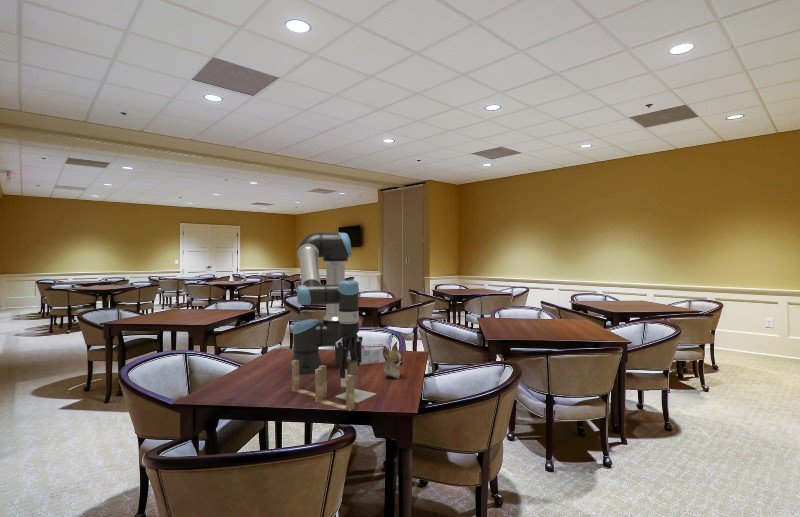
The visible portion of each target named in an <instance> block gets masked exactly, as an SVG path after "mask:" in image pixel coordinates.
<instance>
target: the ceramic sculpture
mask: <svg viewBox="0 0 800 517" xmlns="http://www.w3.org/2000/svg"><path fill="white" fill-rule="evenodd" d="M383 356H384V358H385V363H384V364H385V368H384V369H383V373H384V374H386V375H388V376H389V377H391V378H394V379H398V380H399V379H400V376H401V375H400V374H401V373H400V369H401V368H402V367H403V362H402V360H403V359H402V354H401V353H400V352H399V349H398V341H395V342H394V344H393V345H392V347H391V350H390V349H389V348H388V347H387V346H386V345H384V349H383Z"/></svg>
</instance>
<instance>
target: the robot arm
mask: <svg viewBox="0 0 800 517" xmlns="http://www.w3.org/2000/svg"><path fill="white" fill-rule="evenodd" d="M296 248H297V249H296V256H297V258H298V260H299V266H300V268H299V269H300V281H301V282H300V284H301V285H298V286H297V287H296V299H297V300H296V302H297V305H298V304H299V305H305V306H311V305H312V306H313V305H325V306H326V309H325V311H326V312H325V314H326V315H324V316H323V318H322V321H319V319H318V318H310V319H303V320H300V321H297V322H295V323H294V325H293V331H292V335H293V336H292V338H293V342H292V343H293V345H292V346H293V347H292V350H293V351H292V352H293V354H292V358H291V361H290V362H291V363H290V365H289V372H290V373H291V374H292V361H293V360H299V375H311V374H315V369H318V368H319V366H322V365H323V363H322V360H321V356H320V352H319V351H320V350H319V348H321V347H322V348H325V347H327V348H328V347H334V348H335V349H334V350H335V352H334V354H335V355H334V356H335V368H336V369H338V370H339V378H341V382H340V387H341V386H343V387H346V376H347V375H348V369H346V365H347V358H348V351H349V350H350V356H351V360H357V361H358V366H359V367H360V365H361V364H360V363H361V361H362V345H363V336H358V333H359V332H360V323H359V319H360V316H359V312H360V311H359V306H360V305H359V304H360V302H359V300H360V299H359V297H360V296H359V292H360V288H359V282H358V281H357V280H345V279H346V278H345V276H346V275H345V274H346V272H345V270H346V268H345V265H346V264H347V263H348V261H349V258H351V257H352V244H351V239H350V236H349V235H348V233H346V232H339V231H337V232H319V231H318V232H316V231H315V232H312V233H309V234H307V235H305V236H304V237H303V238H302V239H301V240H300V242H299V243H298V245H297V247H296ZM318 258H322V262H323V263H324V264H325V267H326V268H325V269H326V276H325V277H326V278H325V279H326V283H325V284H321V276H320V270H319V269H320V268H319V261H318Z"/></svg>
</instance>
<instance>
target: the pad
mask: <svg viewBox="0 0 800 517" xmlns="http://www.w3.org/2000/svg"><path fill="white" fill-rule="evenodd" d="M376 395H377V393H375V392H371V391H368V390H367V391H366V390H362V389H359V388H355V389H354V403H356V404H357V403H358V404H359V403H360V402H361V403H362V402H363V401H365V400H367V399H369V398H373V397H375V396H376ZM334 398H336V399H341V400H344V401H346V391H345V392H343V393H340V394H337V395H335V397H334Z"/></svg>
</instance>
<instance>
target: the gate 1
mask: <svg viewBox="0 0 800 517" xmlns="http://www.w3.org/2000/svg"><path fill="white" fill-rule="evenodd" d="M291 361H292V360H291ZM327 367H328V366H327V365H323V364H322V366H319V368H320V369H323V399H325V398H327V397H328V393H327V392H328V391H327V390H328V387H327V384H328V382H327V381H328V379H327V378H328V376H327V374H328V370H327ZM291 391H292V392H295V393H300V394H303V395H307V396H312V397H314V398H315V391H314V392H313V391H309V390H305V389H301V388H300V374H299V360H293V361H292V373H291Z"/></svg>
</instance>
